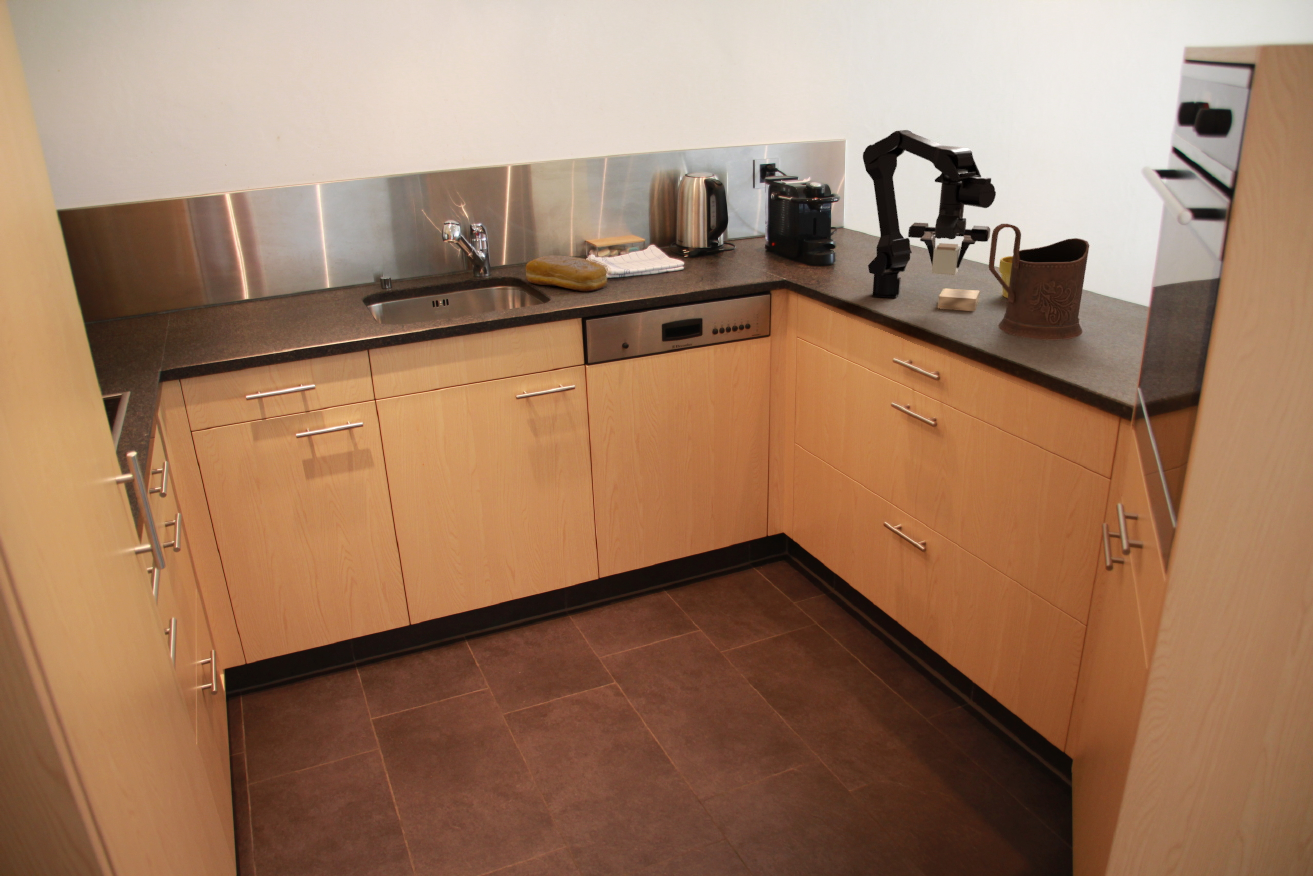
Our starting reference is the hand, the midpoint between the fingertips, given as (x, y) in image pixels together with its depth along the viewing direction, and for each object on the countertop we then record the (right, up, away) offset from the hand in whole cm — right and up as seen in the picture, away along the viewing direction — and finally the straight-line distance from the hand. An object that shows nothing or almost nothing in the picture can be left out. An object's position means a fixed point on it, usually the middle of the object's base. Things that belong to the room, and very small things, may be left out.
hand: (945, 266), depth 231 cm
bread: (-98, +2, +40) cm, 106 cm away
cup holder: (+16, -17, -13) cm, 27 cm away
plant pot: (+23, -5, +15) cm, 28 cm away
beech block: (+6, -9, +8) cm, 14 cm away
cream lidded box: (0, -1, 0) cm, 1 cm away
